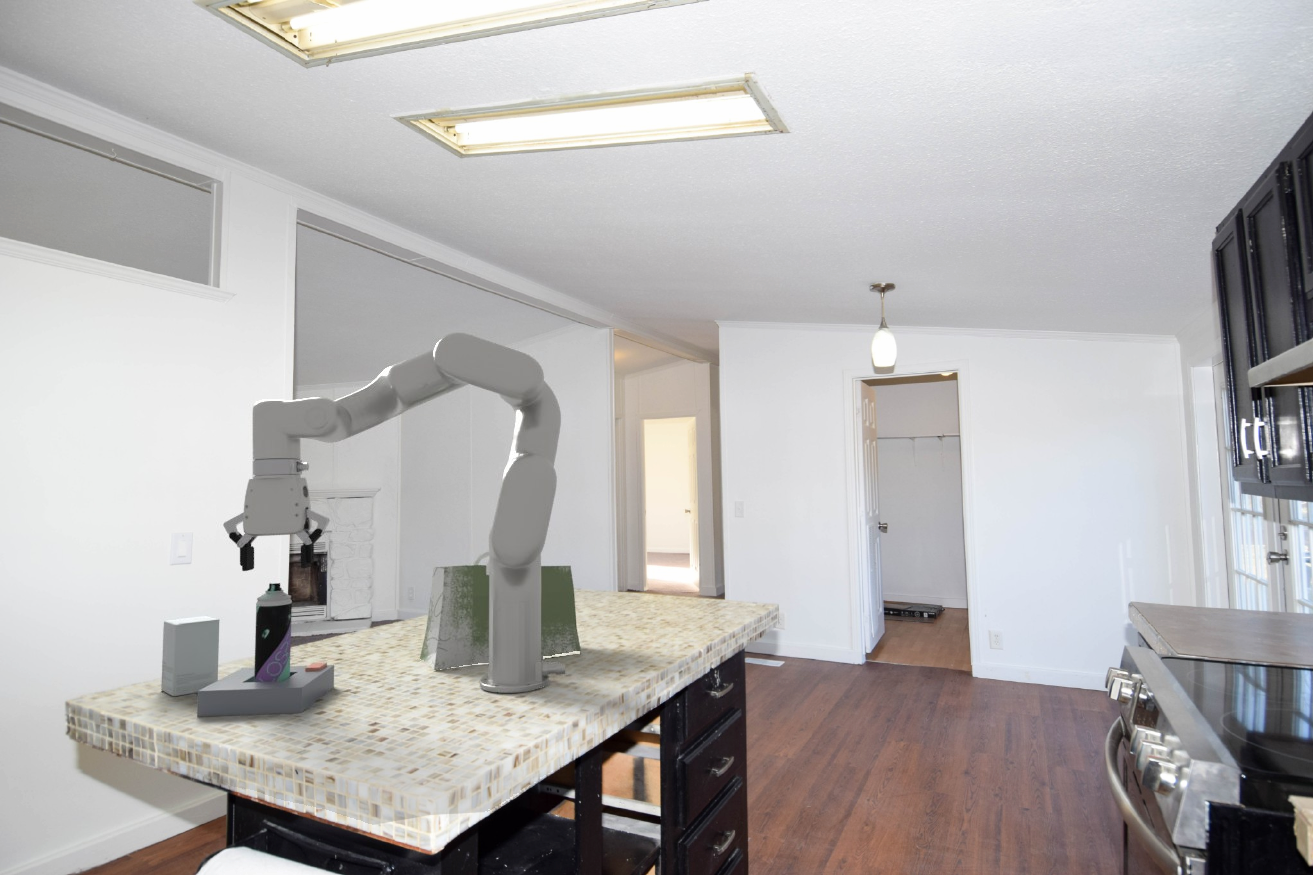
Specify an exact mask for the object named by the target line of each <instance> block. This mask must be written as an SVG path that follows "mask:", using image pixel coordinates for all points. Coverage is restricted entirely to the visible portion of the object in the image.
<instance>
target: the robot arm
mask: <svg viewBox="0 0 1313 875" xmlns="http://www.w3.org/2000/svg"><path fill="white" fill-rule="evenodd" d="M544 374H545V373H544V370H543V368H542V365H541V364H540V362H538V361H537V360H536V359H535V358H534V357H533V356H531V355H529V354H527V353H525V352H522V351H519V350H516V349H514V348H511V347H507V346H504V345H502V344H499V343H496V342H492V341H489V340H486V339H484V338H481V337H477V336H476V335H472V334H468V333H466V332H465V333H464V332H452V333H448V334H446V335H444V336H443V337H442V338H440V339H439V341H437V343H436V344H435V347H434V348H432V349H429V350H426V351H425V352H422V353H420V354H417V355H415V356H413V357H410V358H407V359H405V360H402V361H401V362H400V361H399V362H397V363H395V364H393V365H390V366H388V367H386V368H385V369H383V371H382V372H381V373H380V374H379V375H378V376H377V377H376V378H375V379H374V380H373V381H372V382H371V383H369V384H368V385H366V386H365V387H363V388H361V389H359V390H357V391H355V392H352V393H351V394H348V395H346V396H343V397H340V398H337V399H336V400H332V399H331V398H328V397H320V396H319V397H317V396H315V397H308V398H302V399H293V400H292V399H291V400H287V399H262V400H259V401H256V402H255V403H254V405H253V406H252V478H249V479H248V482H247V486H246V490H245V496H244V504H243V512H242V513H239V514H237V515H236V516H234V517H232V518H230V519H228V520H227V521H225V522H224V523H223V527H224V529H225V531H226V533H227V534H228V538H229V539H230V540H231V541H232V542H233V543H234V544H235V545H236V547H237V548H239V565H240V566H241V570H242V572H247V571H252V570H254V569H255V547H254V546H252V544H253V543H254V541H255V540H256V539H257V537H266V536H285V535H288V536H289V535H290V536H291V535H296V536H297V537H298V538H299V539H300V541H302V543H303V544H301V546H300V568H302V569H307V568H311V567H312V564H313V563H314V561H315V546H314V545H315V544H316V543H317V541H318V540H320V538H321V537H322V536H323V535H324V534H325V530H327V527H328V526H329V523H330V522H331V520H330V518H329V517H326V516H324V515H323V514H320V513H318V512H316V511H314V510H312V508H311V499H310V491H309V486H308V482H307V478H306V477H302V476H301V475H303V472H304V471H305V472H306V471H309V469H310V464H309V462H303V460H302V459H301V438H302V439H308V440H309V439H310V440H314V441H319V442H323V443H327V444H329V443H330V444H332V443H337V442H341V441H344V440H346V439H349V438H352V437H354V436H356V435H359V434H361V433H363V432H365V431H368V430H370V429H372V428H375V427H376V426H379V425H381V424H383V423H384V422H387V421H389V420H391V419H392V418H395V417H398V416H400V415H403V414H404V413H405V412H407V411H410V410H412V409H415V408H416V407H418V406H421V405H423V404H425V403H428V402H430V401H433V400H435V399H437V398H440V397H442V396H444V395H446V394H449V393H451V392H452V393H453V392H454V391H456V390H458V389H461V388H464V387H466V386H468V385H471V386H474V387H477V388H480V389H483V390H486V391H489V392H492V393H494V394H495V393H496V394H499V397H500V398H501V399H502V400H503V401H504V402H505V403H507V404H509V405H510V406H511V407H512V409H513V411H514V414H515V424H514V425H515V426H514V428H513V437H512V442H511V447H510V450H509V456H508V460H507V463H506V465H505V467H504V470H503V472H502V479H501V480H502V481H501V483H500V484H501V485H500V489H499V494H498V499H497V504H496V508H495V512H494V517H493V523H492V525H491V528H490V529H489V535H488V551H489V556H488V559H489V665H488V675H485V676H483V677H481V678H480V680H479V687H480V688H481V689H482V690H484V691H487V692H491V693H497V692H498V694H499V693H500V694H513V693H517V694H518V693H524V692H525V693H527V692H531V691H530V690H532V691H536V690H535V689H537V690H539V689H538V688H540V689H542V688H541V687H543V686H545V687H546V686H548V685H549V684H548V683H550V675H566V663H565V662H563V663H562V662H561V663H560V661H553V662H548V661H547V660H546V661H545V660H544V659H543V655H541V566H542V552H543V550H544V547H545V544H546V540H547V535H548V531H549V527H550V521H551V515H552V511H553V507H554V502H555V497H556V492H557V491H556V490H557V483H558V480H557V479H558V478H557V477H558V476H557V473H556V468H555V467H554V466H555V461H556V456H557V452H558V443H559V438H560V432H561V425H562V424H561V423H562V414H561V413H562V412H561V409H560V408H561V407H560V403H559V402H558V399H557V396H556V395H555V393H554V391H553V389H552V388H551V386H549V384H548V383H547V382H546V381H545V375H544ZM312 521H313V522H316V523H317V526H316V528H315V529H314V530H313V531H312V532H311V531H310V530H312V524H313V523H312ZM239 524H242V527H243V528H242V529H243V533H244V534H241V532H239V531H238V529H237V526H238V525H239ZM543 688H544V687H543Z"/></svg>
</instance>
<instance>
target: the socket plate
mask: <svg viewBox="0 0 1313 875" xmlns="http://www.w3.org/2000/svg"><path fill="white" fill-rule="evenodd" d="M254 668H255V666H254V667H253V666H252V667H242V668H239V669H237V670H236V671H234V672H232V673H230V674H227V675H226V676H224V677H223V678H221V679H218V681H216V682H214V683H212V684H211V685H209V686H207V687H205V688H203V689H201V690H199V691H198V692H197V708H196V710H197V712H196V716H197V717H220V716H221V717H222V716H223V717H224V716H243V715H244V716H246V715H271V714H275V715H276V714H279V715H280V714H300V713H303V712H304V711H306V709H308V708H309V707H311V706H312V705H313V704H314V703H315V702H317V701H318V700H319V699H320V698H322V697H323V696H325V694H327V693H328V692H330V691H331V690H332V689H333V688H335V687H334V686H335V665H334V664H329V665H328V663H327V661H326V662H325V661H324V662H312V663H311V664H309V665H294V666H293V665H290V677H289V678H287V679H286V680H284V681H275V682H254Z"/></svg>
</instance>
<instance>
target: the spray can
mask: <svg viewBox="0 0 1313 875" xmlns="http://www.w3.org/2000/svg"><path fill="white" fill-rule="evenodd" d="M268 585H269V586H268V588H267V590H265V593H262V594H261V596H259V597H257V598H256V600H257V601H256V603H255V604H256V605H255V635H254V636H255V640H254V644H255V645H254V667H255V668H254V682H275V681H284V680H286V679H287V678H289V677H290V666H291V643H292V642H291V640H292V607H293V606H292V604H293V601H292V595H289V594H288V593H286V592H284V589H282V587H281V583H280V582H279V583H270V582H269V584H268Z"/></svg>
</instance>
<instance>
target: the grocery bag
mask: <svg viewBox="0 0 1313 875" xmlns="http://www.w3.org/2000/svg"><path fill="white" fill-rule="evenodd" d="M487 557H489V550H487V551H484V552H483V553H481V554H479V555H478V556H477V557H476V559H475V560H474V562H473V565H470V564H469V565H467V564H465V565H453V566H452V565H451V566H436V567H435V566H434V567H433V571H432V580H431V588H430V589H431V590H430V598H429V605H428V606H429V607H428V614H427V622H426V629H425V633H424V639H423V643H422V646H421V647H422V648H421V651H420V657H419V660H420V659H421V660H424V661H426V662H427V663H429V665H431V667H432V668H433V669H434V670H440V669H447V668H451V667H459V666H463V665H472V664H478V663H489V558H488V559H487V560H486V563H485V564H486V565H483V564H482V565H481V564H480V562H481V561H482V560H483V559H485V558H487ZM575 598H576V597H575V588H574V580H573V574H572V566H571V565H541V655H543V656H552V655H555V654H562V653H569V652H573V651H581V652H582V650H581V644H580V638H579V632H578V628H577V626H578V625H577V615H576V614H577V613H576V600H575ZM421 660H420V661H421ZM447 670H448V669H447ZM440 671H441V670H440Z"/></svg>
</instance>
